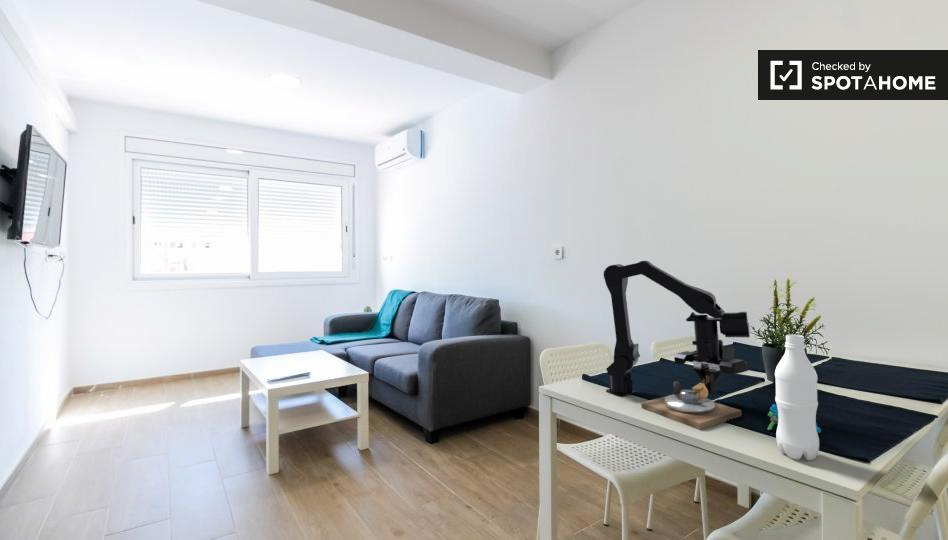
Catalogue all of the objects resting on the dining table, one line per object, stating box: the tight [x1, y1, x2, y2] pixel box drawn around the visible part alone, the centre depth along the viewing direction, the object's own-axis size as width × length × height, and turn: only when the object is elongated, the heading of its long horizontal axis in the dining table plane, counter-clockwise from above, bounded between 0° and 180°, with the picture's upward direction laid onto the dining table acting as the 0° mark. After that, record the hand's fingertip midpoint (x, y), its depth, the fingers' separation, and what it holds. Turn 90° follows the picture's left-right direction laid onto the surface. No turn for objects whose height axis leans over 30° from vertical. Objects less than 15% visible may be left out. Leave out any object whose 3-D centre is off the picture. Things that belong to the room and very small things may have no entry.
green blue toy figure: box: [767, 403, 822, 435], centre depth 101 cm, size 11×6×10 cm
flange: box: [665, 382, 716, 414], centre depth 120 cm, size 17×12×4 cm
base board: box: [640, 380, 742, 430], centre depth 118 cm, size 18×16×6 cm
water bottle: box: [774, 333, 820, 461], centre depth 91 cm, size 7×7×25 cm
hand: (711, 392), depth 123 cm, fingers closed
